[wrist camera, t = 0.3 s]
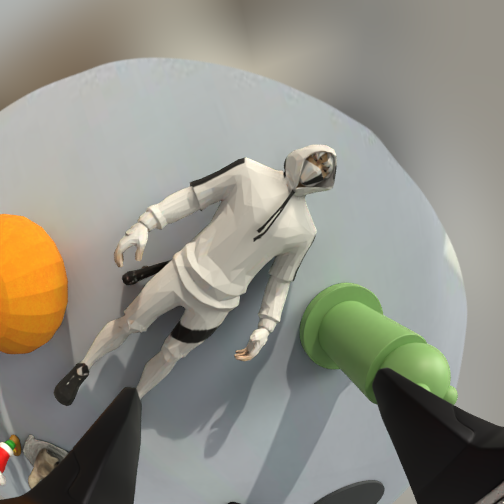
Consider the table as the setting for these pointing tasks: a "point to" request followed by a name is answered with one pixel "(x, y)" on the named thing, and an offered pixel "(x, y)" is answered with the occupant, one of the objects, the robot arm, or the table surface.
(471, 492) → the robot arm
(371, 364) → the toy
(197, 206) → the figurine
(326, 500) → the mat
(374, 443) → the table surface
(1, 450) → the santa figurine
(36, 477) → the skull
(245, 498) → the table surface
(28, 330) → the fruit
